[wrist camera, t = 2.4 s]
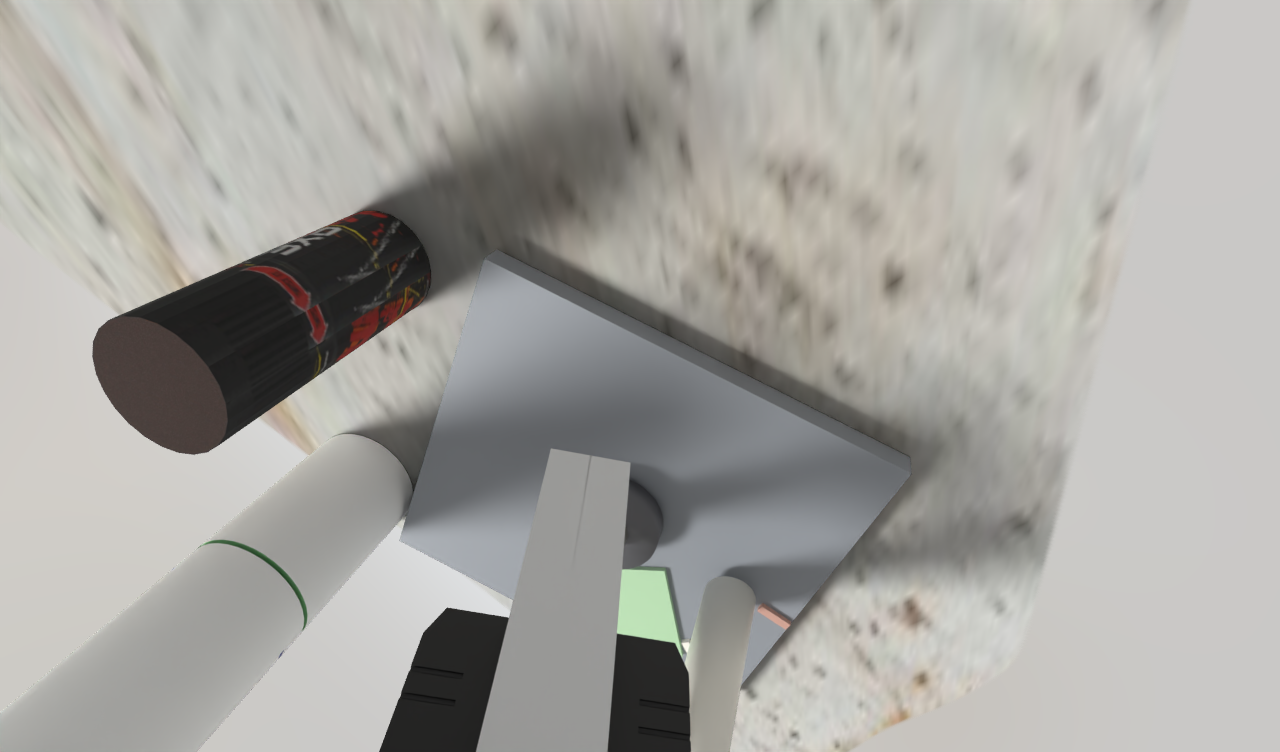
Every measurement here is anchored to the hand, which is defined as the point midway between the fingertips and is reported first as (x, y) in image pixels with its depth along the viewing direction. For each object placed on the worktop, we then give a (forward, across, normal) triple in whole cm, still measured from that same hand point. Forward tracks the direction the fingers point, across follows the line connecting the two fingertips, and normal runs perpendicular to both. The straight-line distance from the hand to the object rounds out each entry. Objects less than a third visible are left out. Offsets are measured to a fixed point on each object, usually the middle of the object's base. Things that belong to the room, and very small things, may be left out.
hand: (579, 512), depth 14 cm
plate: (+23, +3, -18) cm, 30 cm away
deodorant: (+27, -13, -8) cm, 31 cm away
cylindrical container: (+28, -14, -24) cm, 39 cm away
